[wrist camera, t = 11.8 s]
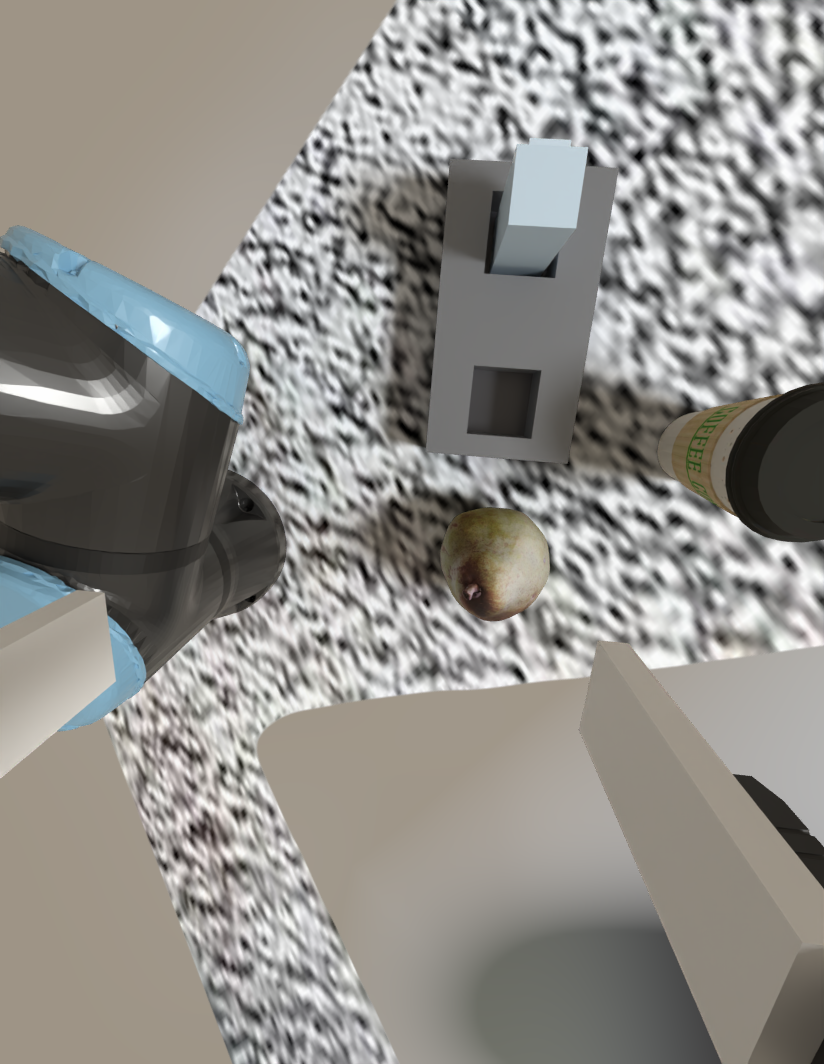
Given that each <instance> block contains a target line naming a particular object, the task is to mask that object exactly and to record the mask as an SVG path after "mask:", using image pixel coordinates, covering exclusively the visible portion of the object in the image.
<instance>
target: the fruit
mask: <svg viewBox="0 0 824 1064" xmlns="http://www.w3.org/2000/svg"><path fill="white" fill-rule="evenodd" d="M440 558H441V568H442V571H443V573H444V576H445V578H446V581H447V583H448V586H449V589H450V591H451V593H452V595H453V596H454V598H455V599H456V601H457V602H458V603H459V604H460V605H461V606H462V607H463V608H464V609H466V610H467V611H468V612H469V613H471V614H473V615H475V616H476V617H478V618H480V619H482V620H486V621H500V620H504V619H507V618H510V617H512V616H514V615H516V614H518V613H520V612H522V611H523V610H525V609H526V608H528V607H529V606H530V605H531V604H532V603H533V602H534V601H535V600H536V598H537V597H538V595H539V594H540V592H541V590H542V589H543V587H544V586H545V584H546V582H547V579H548V575H549V569H550V564H549V551H548V545H547V541H546V539H545V537H544V535H543V534H542V532H541V531H540V530H539V528H538V527H537V526H536V525H535V524H534V522H533V521H532V520H531V519H530V518H529V517H528V516H526V515H525V514H524V513H522V512H519V511H515V510H511V509H504V508H491V507H489V508H480V509H476V510H471V511H468V512H464V513H461V514H459V515H458V516H456V517H455V518H454V519H453V520H452V522H451V523H450V524H449V526H448V529H447V531H446V533H445V536H444V539H443V543H442V546H441V551H440Z"/></svg>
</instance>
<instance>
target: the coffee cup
mask: <svg viewBox="0 0 824 1064" xmlns="http://www.w3.org/2000/svg"><path fill="white" fill-rule="evenodd" d="M657 453H658V460H659V463H660V465H661V467H662V469H663V470H664V471H665V473H667V474H668V475H669V476H670V477H672V478H674V479H676V480H677V481H679V482H681V483H682V484H683V485H684V486H685V487H687V488H688V489H689V490H691V491H693V492H695V493H696V494H698V495H700V496H701V497H703V498H705V499H707V500H708V501H710V502H712V503H713V504H715V505H717V506H718V507H720V508H722V509H724V510H725V511H727V512H729V513H730V514H732V515H734V516H736V517H738V518H739V519H740V520H741V522H742V523H743V524H745V525H746V526H747V527H748V528H750V529H751V530H752V531H754V532H756V533H758V534H760V535H762V536H764V537H767V538H771V539H775V540H779V541H786V542H809V541H818V540H824V382H823V383H816V384H810V385H805V386H802V387H799V388H797V389H794V390H791V391H788V392H787V393H785V394H781V395H775V396H769V397H764V398H759V399H754V400H748V401H743V402H738V403H733V404H728V405H723V406H718V407H713V408H710V409H707V410H704V411H699V412H694V413H689V414H686V415H683V416H681V417H679V418H678V419H676V420H675V421H673V422H672V423H671V424H670V425H669V426H668V427H667V428H666V429H665V431H664V432H663V434H662V436H661V438H660V441H659V444H658V449H657Z"/></svg>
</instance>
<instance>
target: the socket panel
mask: <svg viewBox="0 0 824 1064" xmlns="http://www.w3.org/2000/svg"><path fill="white" fill-rule="evenodd" d="M511 164H512V162H500V161H482V160H464V159H450V167H449V179H448V191H447V203H446V215H445V227H444V239H443V251H442V263H441V275H440V287H439V299H438V311H437V323H436V335H435V347H434V359H433V371H432V383H431V395H430V407H429V419H428V431H427V443H426V452H431V453H443V454H455V455H467V456H479V457H491V458H503V459H515V460H527V461H539V462H551V463H564V464H568V459H569V453H570V447H571V441H572V436H573V430H574V424H575V418H576V413H577V407H578V401H579V395H580V389H581V384H582V378H583V372H584V366H585V360H586V355H587V349H588V343H589V337H590V332H591V326H592V320H593V314H594V308H595V303H596V297H597V291H598V285H599V279H600V274H601V268H602V262H603V256H604V250H605V245H606V239H607V233H608V227H609V222H610V216H611V210H612V204H613V198H614V193H615V187H616V181H617V175H618V169H619V168H608V167H590V166H585V173H584V179H583V186H582V193H581V199H580V206H579V213H578V219H577V226H576V229H575V231H574V232H573V233H572V235H571V236H570V237H569V239H568V240H567V241H566V243H565V244H564V245H563V247H562V248H561V249H560V251H559V252H558V253H557V255H556V256H555V257H554V259H553V260H552V261H551V263H550V264H549V265H548V267H547V268H546V269H545V271H544V272H543V273H542V274H541V276H540V277H529V276H514V275H499V274H489V271H490V262H491V252H492V243H493V233H494V224H495V219H496V216H497V212H498V209H499V206H500V202H501V199H502V195H503V192H504V188H505V185H506V181H507V178H508V174H509V171H510V167H511Z"/></svg>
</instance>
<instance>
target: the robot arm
mask: <svg viewBox="0 0 824 1064" xmlns="http://www.w3.org/2000/svg"><path fill="white" fill-rule="evenodd" d="M0 247H1V248H3V249H5V253H2V252H0V778H1V777H2V776H4V775H5V774H6V773H7V772H8V771H10V770H11V769H12V768H13V767H15V766H16V765H17V764H18V763H19V762H20V761H22V760H23V759H24V758H25V757H26V756H28V755H29V754H30V753H31V752H32V751H34V750H35V749H36V748H37V747H38V746H40V745H41V744H42V743H43V742H44V741H45V740H47V739H48V738H49V737H50V736H51V735H53V734H54V733H55V732H56V731H66V730H72V729H76V728H78V727H79V726H85V725H89V724H92V723H94V722H96V721H97V720H99V719H101V718H102V717H104V716H105V715H107V714H108V713H109V712H111V711H112V710H114V709H115V708H116V707H118V706H119V705H120V704H122V703H123V702H124V701H126V700H127V699H129V698H131V697H133V696H134V695H135V694H136V693H137V692H139V691H140V689H141V688H142V687H143V685H144V683H145V682H146V681H147V680H148V679H149V678H150V677H151V676H153V675H154V674H155V673H156V672H157V671H158V670H159V669H160V668H161V667H162V666H163V665H164V664H165V663H166V662H167V661H168V660H170V659H171V658H172V657H173V656H174V655H175V654H176V653H177V652H178V651H179V650H180V649H181V648H182V647H183V646H184V645H185V644H187V643H188V642H189V641H190V640H191V639H192V638H193V637H194V636H195V635H196V634H197V633H198V632H199V631H200V630H201V629H202V628H204V627H205V626H206V625H207V624H208V623H209V622H210V621H211V620H213V619H216V618H220V617H223V616H227V615H230V614H233V613H237V612H239V611H242V610H244V609H246V608H248V607H250V606H251V605H253V604H254V603H256V602H257V601H258V600H259V599H261V598H262V597H263V596H264V595H265V594H266V593H267V591H268V590H269V589H270V588H271V587H272V586H273V585H274V584H275V582H276V581H277V579H278V577H279V576H280V573H281V571H282V569H283V566H284V562H285V557H286V536H285V531H284V527H283V524H282V521H281V519H280V516H279V514H278V512H277V510H276V508H275V507H274V505H273V504H272V502H271V501H270V500H269V498H268V497H267V496H266V495H265V494H264V493H263V492H262V491H261V490H260V489H259V488H258V487H257V486H256V485H255V484H253V483H252V482H251V481H249V480H248V479H246V478H245V477H243V476H241V475H239V474H237V473H235V472H232V471H229V470H228V466H229V462H230V458H231V455H232V451H233V447H234V443H235V440H236V436H237V432H238V428H239V425H240V424H242V423H243V415H242V407H243V402H244V397H245V392H246V387H247V382H248V377H249V370H250V367H249V360H248V357H247V354H246V352H245V350H244V348H243V347H242V345H241V344H240V343H239V342H238V341H237V340H236V339H235V338H234V337H233V336H232V335H230V334H229V333H227V332H226V331H224V330H222V329H221V328H219V327H217V326H215V325H214V324H212V323H210V322H209V321H207V320H205V319H203V318H201V317H200V316H198V315H196V314H194V313H192V312H191V311H189V310H187V309H185V308H183V307H181V306H179V305H178V304H176V303H174V302H172V301H170V300H168V299H166V298H165V297H163V296H161V295H159V294H157V293H155V292H153V291H152V290H150V289H147V288H146V287H144V286H142V285H140V284H138V283H136V282H134V281H132V280H130V279H128V278H127V277H125V276H123V275H120V274H119V273H117V272H115V271H113V270H111V269H109V268H107V267H105V266H103V265H101V264H99V263H97V262H95V261H91V260H90V259H88V258H87V257H85V256H83V255H81V254H79V253H77V252H75V251H73V250H71V249H68V248H67V247H64V246H62V245H61V244H59V243H58V242H56V241H54V240H52V239H50V238H48V237H46V236H44V235H42V234H40V233H38V232H36V231H34V230H31V229H29V228H27V227H24V226H19V225H17V226H13V227H10V228H9V230H8V231H7V233H6V234H5V235H3V236H1V237H0ZM579 731H580V734H581V736H582V738H583V740H584V743H585V745H586V748H587V750H588V752H589V755H590V757H591V759H592V762H593V764H594V766H595V769H596V771H597V773H598V776H599V778H600V780H601V783H602V785H603V787H604V789H605V792H606V794H607V796H608V799H609V801H610V804H611V806H612V808H613V810H614V813H615V815H616V818H617V820H618V822H619V825H620V827H621V829H622V831H623V834H624V836H625V838H626V841H627V843H628V846H629V848H630V850H631V853H632V855H633V857H634V860H635V862H636V864H637V866H638V869H639V871H640V874H641V876H642V878H643V881H644V883H645V885H646V887H647V890H648V892H649V894H650V897H651V899H652V902H653V904H654V906H655V909H656V911H657V913H658V916H659V918H660V920H661V923H662V925H663V927H664V929H665V931H666V934H667V937H668V939H669V941H670V943H671V946H672V948H673V951H674V953H675V955H676V958H677V960H678V962H679V965H680V967H681V969H682V971H683V974H684V976H685V979H686V981H687V983H688V986H689V988H690V990H691V992H692V995H693V997H694V999H695V1002H696V1004H697V1006H698V1009H699V1011H700V1013H701V1016H702V1018H703V1020H704V1023H705V1025H706V1027H707V1030H708V1032H709V1034H710V1037H711V1039H712V1041H713V1044H714V1046H715V1048H716V1051H717V1053H718V1055H719V1058H720V1060H721V1062H722V1064H824V847H823V846H822V845H821V843H820V842H819V841H818V840H817V839H816V838H815V837H814V836H811V835H810V834H809V830H808V828H807V827H806V826H805V825H804V824H803V823H802V822H801V820H800V819H799V818H798V817H797V816H796V815H795V813H794V812H793V811H792V810H791V809H790V808H789V807H788V805H787V804H786V803H785V802H784V801H783V800H782V799H780V798H779V797H778V796H776V795H775V794H774V793H773V792H771V791H770V790H769V789H767V788H766V787H765V786H764V785H762V784H761V783H760V782H758V781H757V780H756V779H754V778H753V777H752V776H745V775H735V774H732V773H731V772H730V771H729V769H728V768H727V767H726V766H725V764H724V763H723V762H722V761H721V759H720V758H719V757H718V756H717V754H716V753H715V752H714V751H713V749H712V748H711V747H710V745H709V744H708V743H707V742H706V740H705V739H704V738H703V737H702V736H701V734H700V733H699V732H698V730H697V729H696V728H695V727H694V725H693V724H692V723H691V722H690V720H689V719H688V718H687V717H686V715H685V714H684V713H683V712H682V710H681V709H680V708H679V707H678V705H677V704H676V703H675V702H674V700H673V699H672V698H671V696H670V695H669V694H668V693H667V692H666V690H665V689H664V688H663V687H662V685H661V684H660V683H659V681H658V680H657V679H656V678H655V676H654V675H653V674H652V673H651V671H650V670H649V669H648V668H647V666H646V665H645V664H644V663H643V661H642V660H641V659H640V658H639V656H638V655H637V654H636V653H635V651H634V650H633V649H632V647H631V646H630V645H629V644H628V643H618V642H608V641H598V643H597V648H596V653H595V657H594V662H593V667H592V671H591V676H590V681H589V685H588V690H587V695H586V699H585V704H584V709H583V713H582V718H581V723H580V728H579Z"/></svg>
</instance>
